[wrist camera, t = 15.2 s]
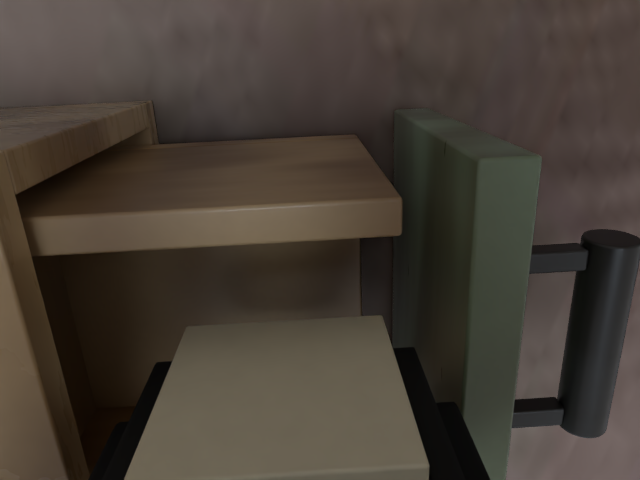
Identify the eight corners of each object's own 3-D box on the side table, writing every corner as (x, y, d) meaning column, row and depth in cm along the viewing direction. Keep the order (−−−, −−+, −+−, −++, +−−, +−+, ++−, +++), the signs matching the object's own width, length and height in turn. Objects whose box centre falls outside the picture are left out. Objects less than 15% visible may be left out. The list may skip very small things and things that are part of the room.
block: (382, 313, 11) (430, 465, 7) (382, 465, 13) (422, 661, 9) (186, 324, 11) (119, 485, 7) (209, 476, 13) (167, 680, 9)
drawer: (555, 101, 17) (777, 142, 9) (521, 393, 21) (652, 591, 13) (20, 127, 16) (-227, 195, 9) (94, 421, 21) (-28, 644, 13)
